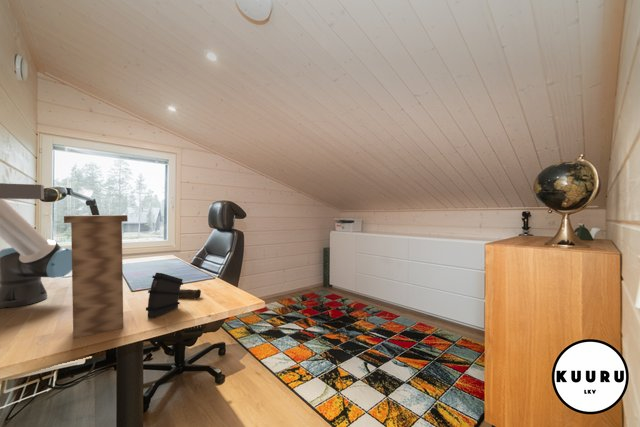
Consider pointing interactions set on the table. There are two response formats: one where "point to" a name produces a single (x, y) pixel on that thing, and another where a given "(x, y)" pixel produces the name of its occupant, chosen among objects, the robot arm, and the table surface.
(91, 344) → the table surface
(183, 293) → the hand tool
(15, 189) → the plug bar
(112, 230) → the walnut stand
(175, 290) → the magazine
